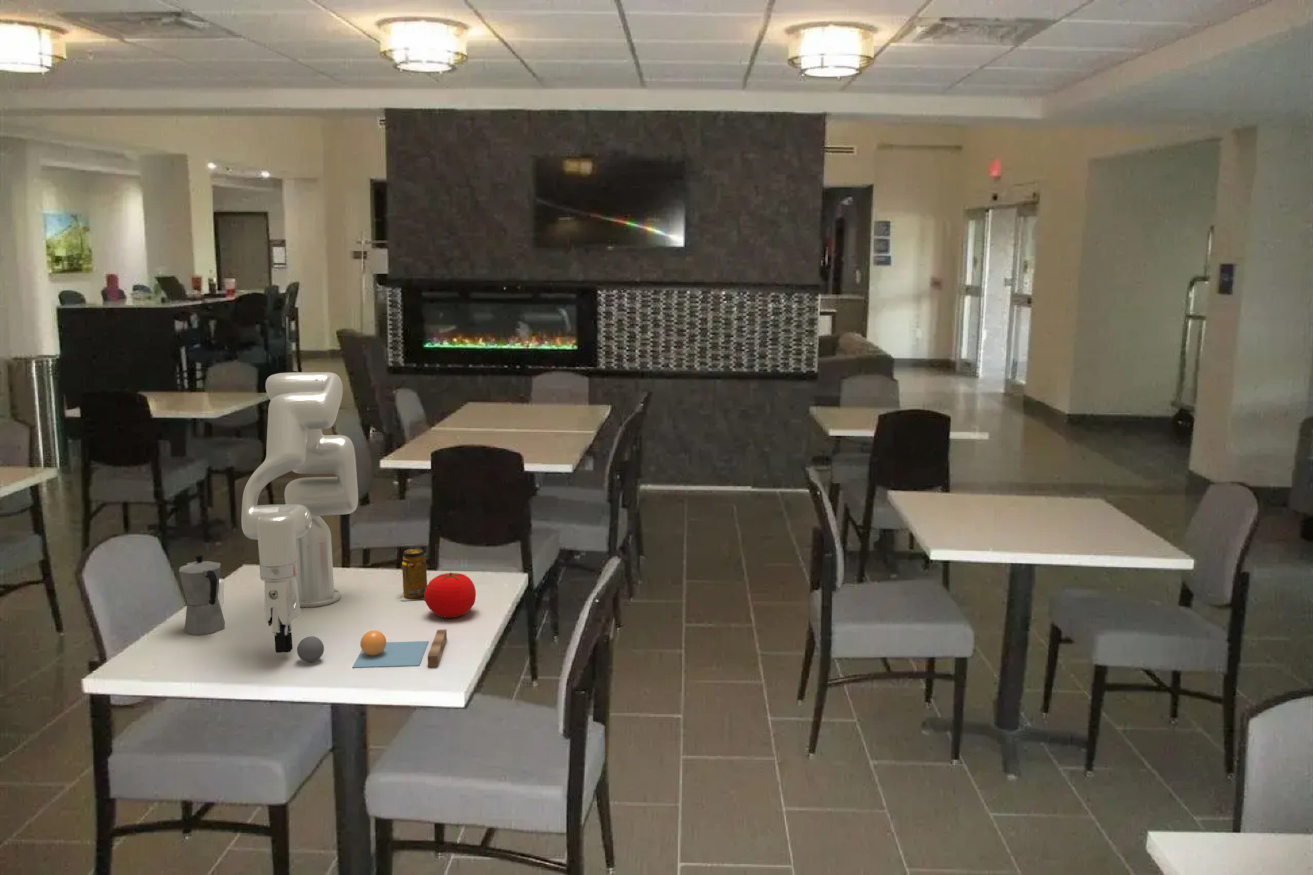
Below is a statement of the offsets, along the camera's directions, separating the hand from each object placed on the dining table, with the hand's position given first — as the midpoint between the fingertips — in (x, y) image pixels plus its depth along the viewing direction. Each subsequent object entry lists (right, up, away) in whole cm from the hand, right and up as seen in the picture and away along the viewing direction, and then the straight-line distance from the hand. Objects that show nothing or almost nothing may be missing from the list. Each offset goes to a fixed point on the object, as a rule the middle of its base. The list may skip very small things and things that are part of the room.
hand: (284, 651), depth 225 cm
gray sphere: (+6, +1, -2) cm, 7 cm away
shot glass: (-30, +4, +32) cm, 43 cm away
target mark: (+23, -1, +2) cm, 23 cm away
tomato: (+31, +3, +27) cm, 41 cm away
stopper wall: (+33, -1, +3) cm, 33 cm away
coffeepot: (-24, +1, +17) cm, 30 cm away
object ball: (+19, +1, +1) cm, 19 cm away
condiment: (+20, +5, +41) cm, 46 cm away
